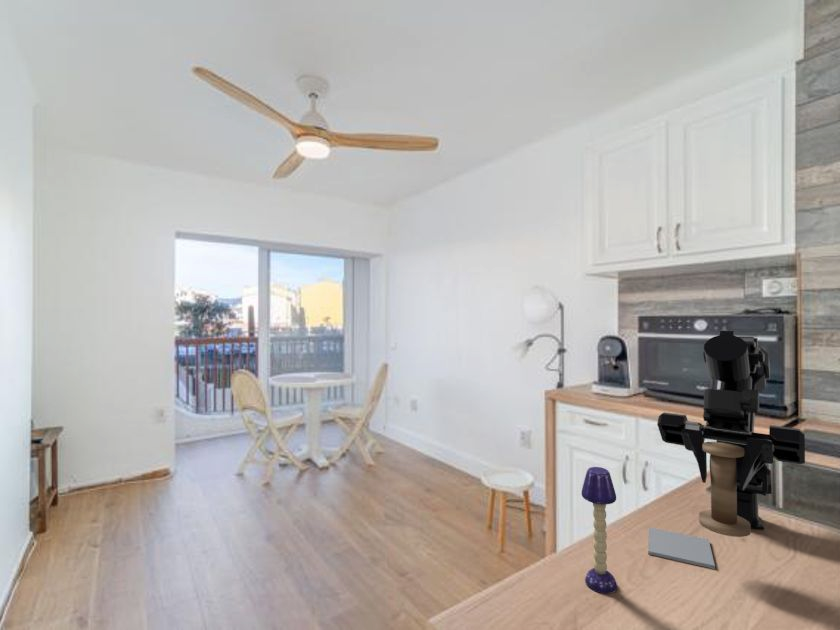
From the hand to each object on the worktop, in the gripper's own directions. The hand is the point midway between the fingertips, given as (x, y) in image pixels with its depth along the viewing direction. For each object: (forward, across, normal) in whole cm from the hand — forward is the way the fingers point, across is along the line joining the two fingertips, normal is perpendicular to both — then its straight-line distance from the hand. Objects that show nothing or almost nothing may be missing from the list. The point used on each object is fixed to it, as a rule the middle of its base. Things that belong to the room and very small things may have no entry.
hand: (722, 485), depth 64 cm
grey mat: (+6, -7, +13) cm, 16 cm away
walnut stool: (+4, 0, +6) cm, 7 cm away
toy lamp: (+20, -13, -1) cm, 24 cm away
